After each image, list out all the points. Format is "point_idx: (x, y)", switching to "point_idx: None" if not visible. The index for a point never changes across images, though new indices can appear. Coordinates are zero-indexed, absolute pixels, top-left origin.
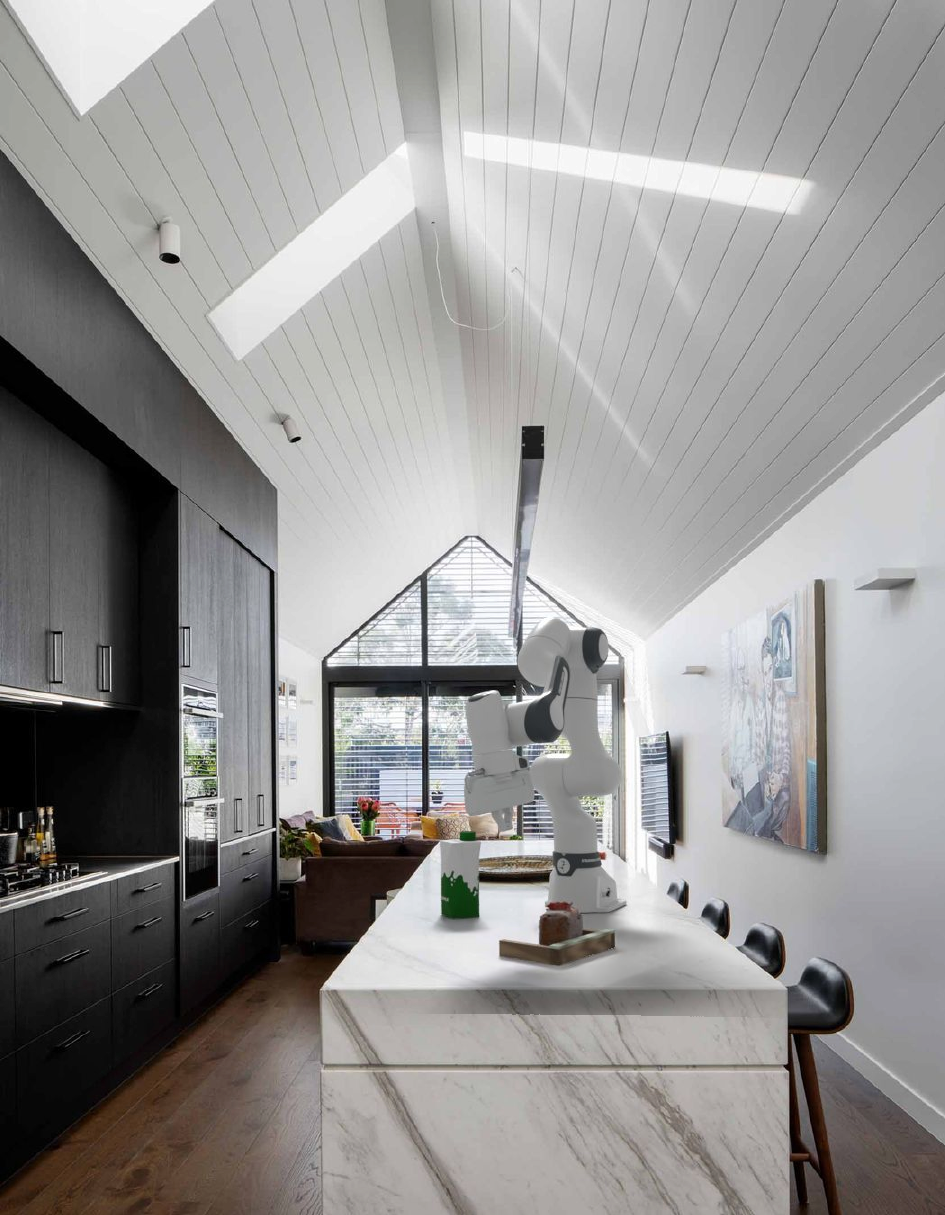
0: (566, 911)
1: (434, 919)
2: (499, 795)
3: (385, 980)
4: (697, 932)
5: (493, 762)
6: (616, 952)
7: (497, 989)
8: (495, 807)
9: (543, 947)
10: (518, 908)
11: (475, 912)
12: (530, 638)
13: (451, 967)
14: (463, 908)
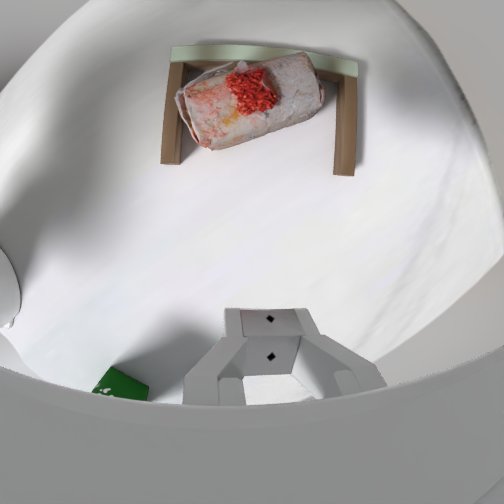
0: (270, 67)
1: (166, 402)
2: (455, 474)
3: (484, 228)
4: (36, 58)
5: None
6: (209, 41)
7: (464, 104)
8: (467, 376)
9: (356, 88)
10: (40, 347)
11: (114, 373)
12: None
13: (427, 199)
14: (130, 387)
